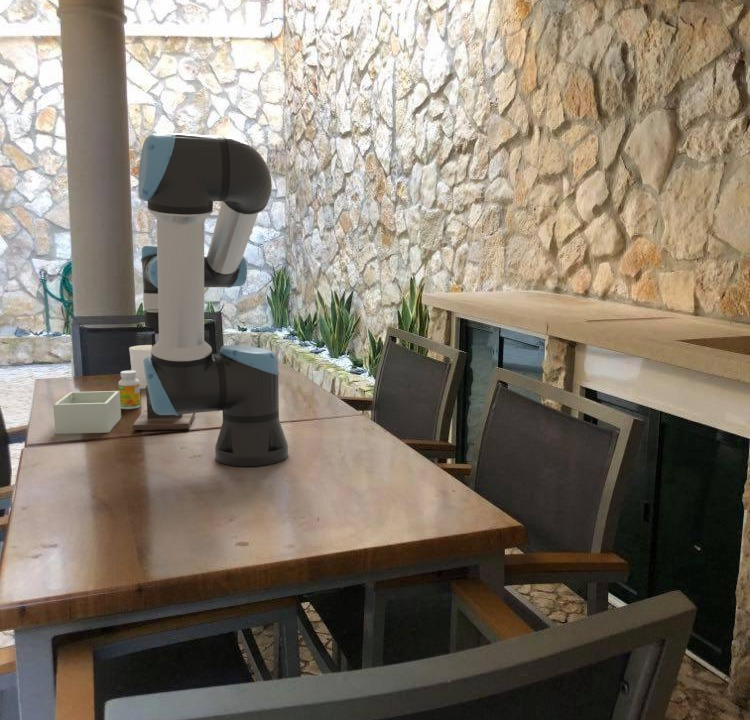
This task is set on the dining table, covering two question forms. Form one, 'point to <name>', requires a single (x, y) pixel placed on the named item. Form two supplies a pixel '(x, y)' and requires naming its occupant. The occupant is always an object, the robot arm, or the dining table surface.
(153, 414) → the walnut lid
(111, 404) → the sage box
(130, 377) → the supplement bottle
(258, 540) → the dining table surface
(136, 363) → the candle holder
